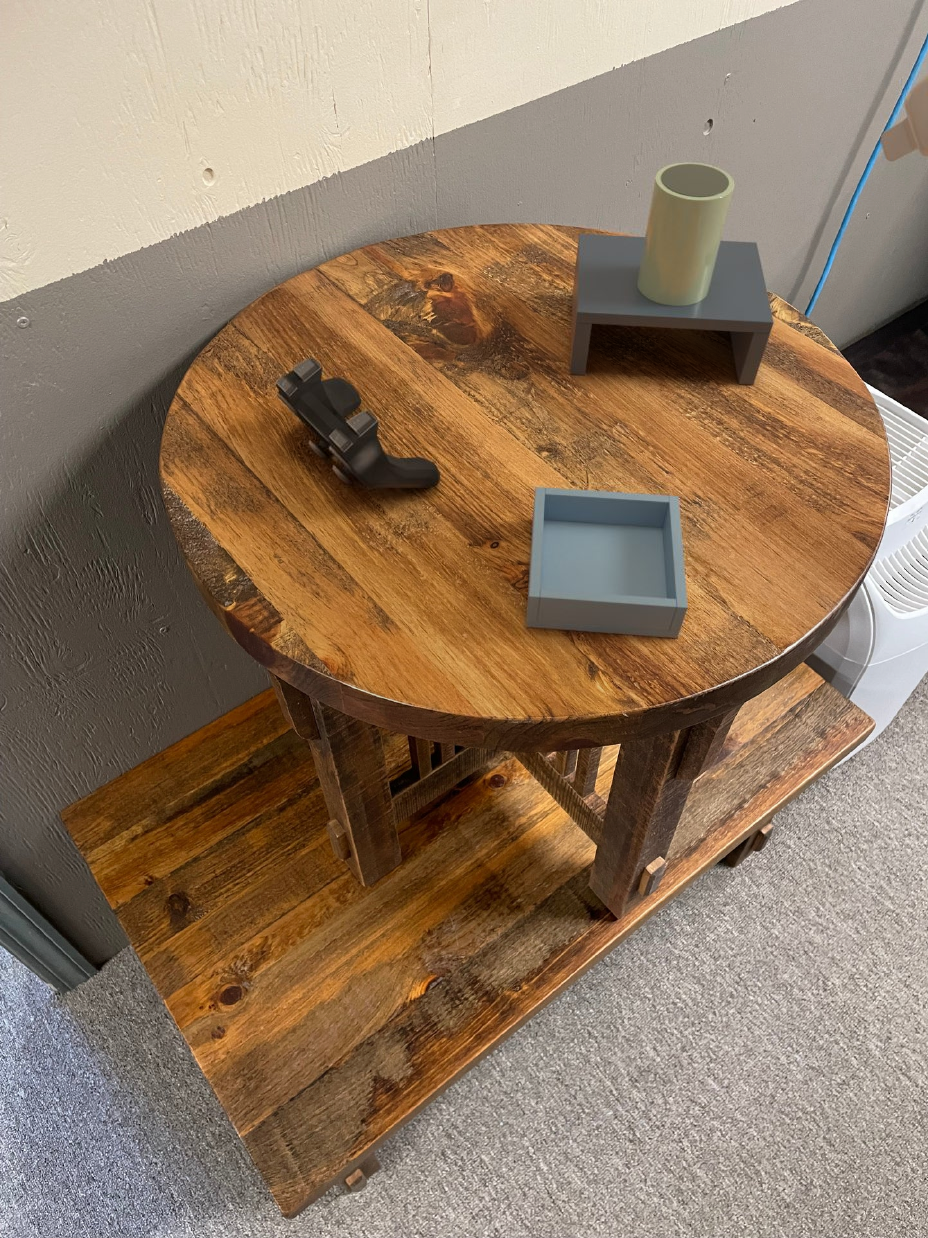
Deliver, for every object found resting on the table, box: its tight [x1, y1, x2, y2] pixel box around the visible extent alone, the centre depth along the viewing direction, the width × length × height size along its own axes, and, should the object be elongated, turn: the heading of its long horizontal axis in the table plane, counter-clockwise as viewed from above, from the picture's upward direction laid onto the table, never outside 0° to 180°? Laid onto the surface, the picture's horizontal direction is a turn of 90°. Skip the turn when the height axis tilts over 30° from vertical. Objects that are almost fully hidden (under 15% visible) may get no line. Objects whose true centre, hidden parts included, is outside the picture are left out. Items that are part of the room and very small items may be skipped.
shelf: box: [569, 233, 775, 386], centre depth 87 cm, size 18×14×7 cm
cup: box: [637, 161, 735, 306], centre depth 79 cm, size 7×7×10 cm
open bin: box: [525, 486, 689, 639], centre depth 68 cm, size 12×12×4 cm
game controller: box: [275, 357, 441, 491], centre depth 75 cm, size 16×7×10 cm, turn 37°
